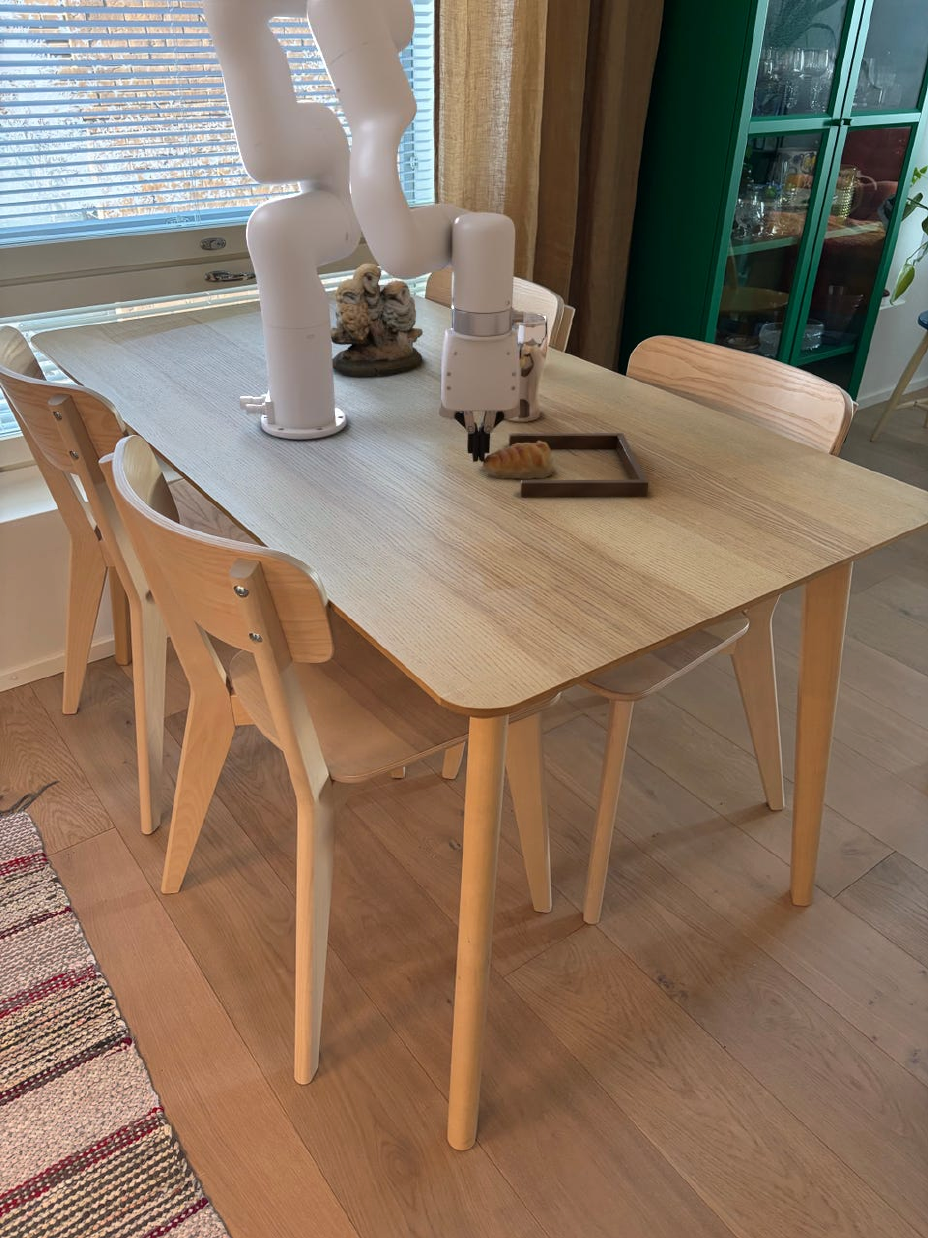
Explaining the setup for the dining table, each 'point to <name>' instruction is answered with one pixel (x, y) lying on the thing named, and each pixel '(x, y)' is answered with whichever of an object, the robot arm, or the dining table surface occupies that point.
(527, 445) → the pastry
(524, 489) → the corral
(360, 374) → the owl figurine
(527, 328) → the beer glass
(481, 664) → the dining table surface
